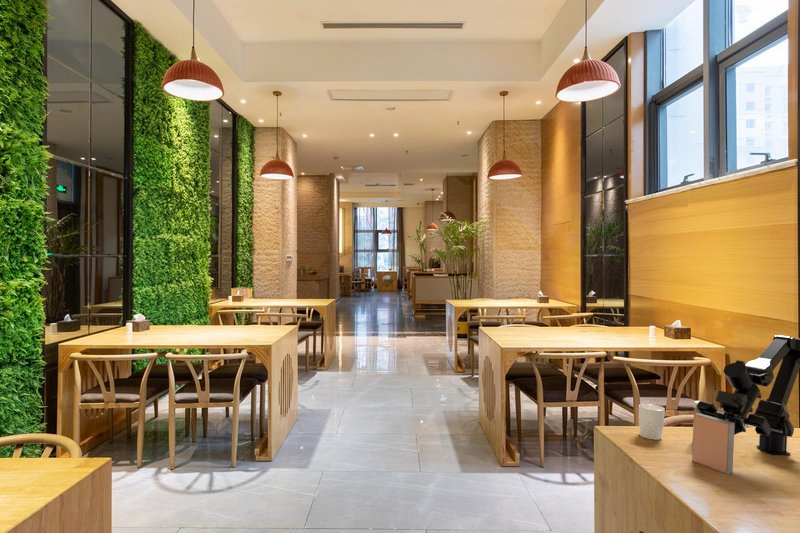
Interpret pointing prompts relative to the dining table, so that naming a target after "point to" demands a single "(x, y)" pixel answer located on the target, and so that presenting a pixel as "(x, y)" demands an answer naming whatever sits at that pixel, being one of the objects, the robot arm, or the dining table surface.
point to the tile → (713, 443)
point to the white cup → (651, 421)
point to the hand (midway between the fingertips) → (719, 440)
